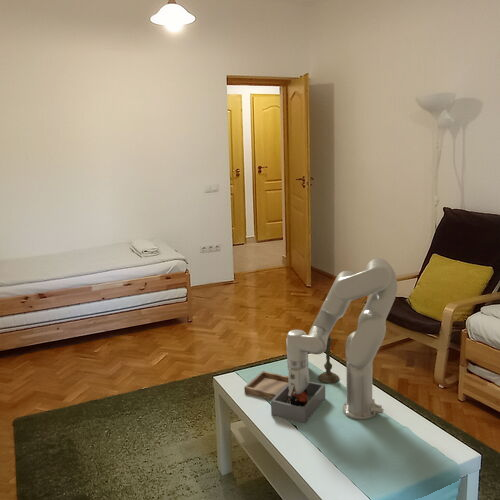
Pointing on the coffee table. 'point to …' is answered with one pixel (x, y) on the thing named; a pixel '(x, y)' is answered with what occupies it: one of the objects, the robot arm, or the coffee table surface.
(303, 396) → the pomegranate
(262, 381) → the tray
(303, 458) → the coffee table surface
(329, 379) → the candlestick holder
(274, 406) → the grey open box
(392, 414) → the coffee table surface
